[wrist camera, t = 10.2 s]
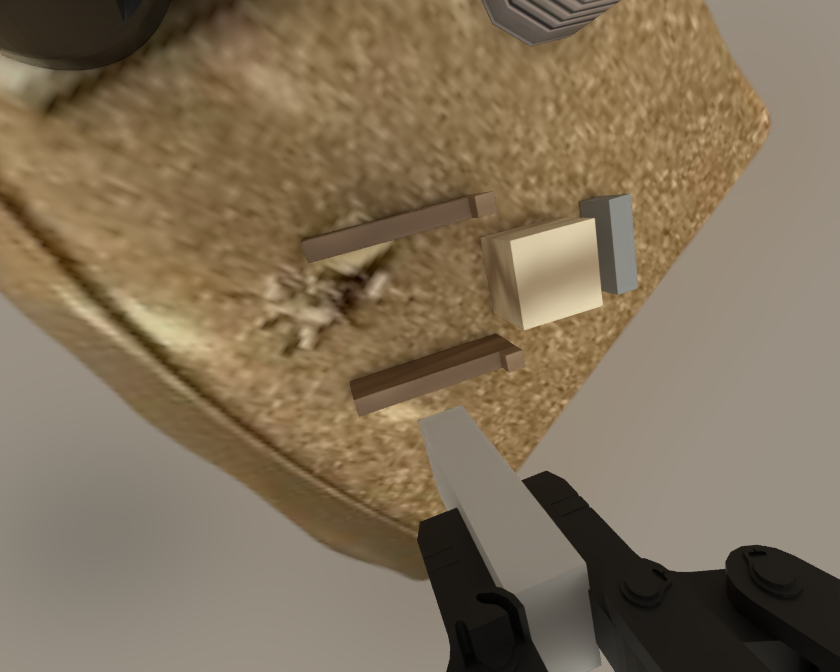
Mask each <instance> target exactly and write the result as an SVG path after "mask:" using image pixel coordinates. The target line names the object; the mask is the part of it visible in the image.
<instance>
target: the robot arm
mask: <svg viewBox="0 0 840 672" xmlns="http://www.w3.org/2000/svg"><path fill="white" fill-rule="evenodd" d="M169 1H170V0H0V54H1V55H4V56H6V57H9V58H11V59H14V60H17V61H20V62H23V63H27V64H30V65H34V66H39V67H44V68H50V69H60V70H80V69H89V68H95V67H99V66H103V65H106V64H110V63H112V62H115V61H117V60H119V59H121V58H123V57H125V56H127V55H129V54H130V53H132V52H133V51H135V50H136V49H137V48H138V47H140V46H141V45H142V44H143V43H144V42H145V41H146V40H147V39H148V38H149V37H150V36H151V35H152V33H153V32H154V31H155V29H156V28H157V27H158V25H159V23H160V22H161V20H162V18H163V16H164V14H165V12H166V10H167V7H168V4H169ZM418 423H419V427H420V430H421V434H422V437H423V441H424V444H425V448H426V451H427V454H428V458H429V461H430V465H431V468H432V472H433V475H434V479H435V482H436V486H437V489H438V491H439V494H440V496H441V498H442V500H443V502H444V504H445V507H446V509H447V512H444V513H442V514H439V515H437V516H434V517H431V518H429V519H426V520H424V521H421V522H420V526H419V532H418V538H417V541H418V544H419V547H420V550H421V554H422V557H423V560H424V563H425V566H426V569H427V572H428V575H429V578H430V581H431V585H432V588H433V590H434V594H435V597H436V600H437V603H438V606H439V609H440V612H441V615H442V619H443V622H444V625H445V628H446V631H447V634H448V638H449V643H450V660H449V664H448V667H447V671H446V672H588V671H590V670H592V669H594V668H597V667H599V666H601V658H600V652H599V648H600V650H601V651H602V653H603V654H604V656H605V657H606V659H607V660H608V662H609V663H610V665H611V666H612V668H613V669H614V671H615V672H840V579H837V578H836V577H834V576H832V575H830V574H828V573H826V572H824V571H822V570H820V569H819V568H817V567H815V566H813V565H811V564H809V563H807V562H805V561H803V560H802V559H800V558H798V557H796V556H794V555H791V554H789V553H786V552H784V551H781V550H779V549H777V548H772V547H767V546H761V545H750V546H741V547H739V548H737V549H735V550H734V551H732V552H730V554H729V556H728V558H727V560H726V563H725V564H726V565H725V567H726V568H725V569H719V570H708V571H697V572H675V571H670V570H668V569H666V568H665V567H664V566H662V565H661V564H659V563H656V562H653V561H651V560H648V559H645V558H641V557H639V556H638V555H637V554H636V553H635V552H634V551H632V550H631V548H629V546H628V545H627V544H626V543H625V542H624V541H623V540H622V539H621V538H620V537H619V536H618V535H617V534H616V533H615V532H614V531H613V530H612V528H610V526H609V525H608V524H607V523H606V522H605V521H604V520H603V519H602V518H601V517H600V516H599V515H598V514H597V513H596V512H595V511H594V510H593V509H592V508H590V507H589V504H588V503H587V502H586V501H585V500H584V499H583V498H582V497H581V496H579V495H578V493H577V492H576V491H575V490H574V489H573V488H572V487H571V486H570V485H569V484H568V482H567V481H565V479H563V478H561V477H559V476H557V475H555V474H552V473H550V472H548V471H544V472H542V473H539V474H537V475H534V476H531V477H529V478H526V479H524V480H520V479H519V477H518V476H517V475H516V474H515V472H514V471H513V470H512V468H511V467H510V466H509V465H508V463H507V462H506V461H505V460H504V458H503V457H502V456H501V454H500V453H499V452H498V451H497V449H496V448H495V447H494V446H493V444H492V443H491V442H490V440H489V439H488V438H487V437H486V435H485V434H484V433H483V432H482V430H481V429H480V428H479V427H478V425H477V424H476V423H475V421H474V420H473V419H472V418H471V416H470V415H469V414H468V413H467V411H466V410H465V409H464V407H463V406H462V405H460V406H457V407H454V408H451V409H449V410H446V411H443V412H440V413H437V414H435V415H432V416H429V417H426V418H423V419H421V420H418Z"/></svg>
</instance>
